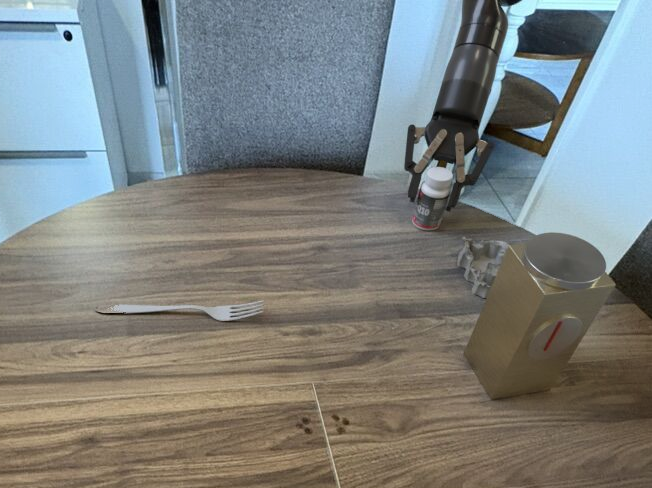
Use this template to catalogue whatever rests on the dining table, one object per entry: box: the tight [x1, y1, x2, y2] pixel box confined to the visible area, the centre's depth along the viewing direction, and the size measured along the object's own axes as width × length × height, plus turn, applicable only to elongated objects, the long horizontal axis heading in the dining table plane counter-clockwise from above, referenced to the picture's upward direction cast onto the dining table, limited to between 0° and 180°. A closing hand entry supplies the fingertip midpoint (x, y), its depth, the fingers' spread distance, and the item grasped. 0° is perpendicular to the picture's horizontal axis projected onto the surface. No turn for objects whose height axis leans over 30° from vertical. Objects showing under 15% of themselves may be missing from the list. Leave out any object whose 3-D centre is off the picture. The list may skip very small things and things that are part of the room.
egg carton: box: [456, 235, 510, 299], centre depth 94 cm, size 11×8×4 cm
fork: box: [108, 300, 265, 322], centre depth 87 cm, size 3×24×2 cm, turn 90°
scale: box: [463, 231, 617, 401], centre depth 77 cm, size 9×10×18 cm
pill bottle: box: [411, 166, 454, 231], centre depth 99 cm, size 5×5×8 cm
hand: (430, 204), depth 98 cm, fingers open, 5 cm apart
